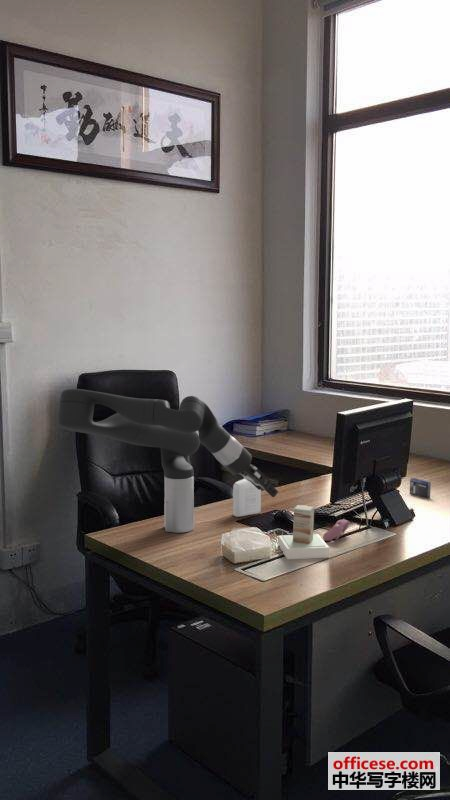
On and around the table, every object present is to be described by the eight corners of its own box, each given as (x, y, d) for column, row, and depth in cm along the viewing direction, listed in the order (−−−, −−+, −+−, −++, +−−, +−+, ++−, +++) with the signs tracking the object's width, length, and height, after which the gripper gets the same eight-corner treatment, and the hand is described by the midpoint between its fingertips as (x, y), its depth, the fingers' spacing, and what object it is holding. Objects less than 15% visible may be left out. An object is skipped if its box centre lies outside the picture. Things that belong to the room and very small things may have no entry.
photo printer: (255, 510, 252) (255, 475, 250) (262, 513, 248) (263, 478, 246) (230, 515, 246) (230, 479, 244) (238, 518, 242) (238, 482, 241)
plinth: (287, 559, 203) (287, 548, 203) (278, 545, 215) (278, 535, 215) (329, 557, 205) (329, 546, 205) (317, 543, 217) (318, 533, 216)
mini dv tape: (409, 493, 274) (410, 478, 273) (412, 493, 275) (412, 477, 274) (427, 498, 267) (428, 482, 266) (430, 497, 268) (430, 481, 267)
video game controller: (333, 547, 218) (343, 529, 215) (320, 539, 220) (330, 520, 217) (344, 538, 226) (355, 520, 224) (332, 530, 228) (342, 512, 226)
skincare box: (292, 542, 208) (292, 508, 207) (296, 537, 212) (297, 504, 211) (309, 544, 206) (310, 510, 205) (313, 539, 210) (314, 506, 209)
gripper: (212, 459, 203) (249, 495, 209) (232, 469, 190) (271, 507, 196) (229, 439, 204) (265, 475, 210) (251, 448, 191) (289, 486, 197)
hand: (268, 490), depth 203 cm, fingers open, 8 cm apart
